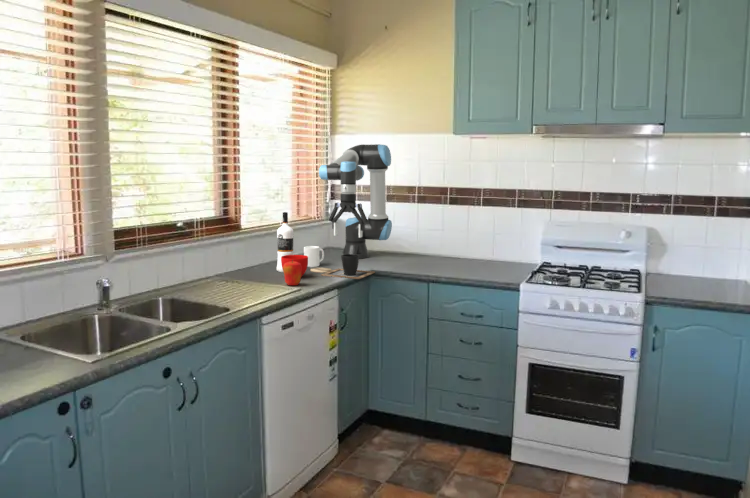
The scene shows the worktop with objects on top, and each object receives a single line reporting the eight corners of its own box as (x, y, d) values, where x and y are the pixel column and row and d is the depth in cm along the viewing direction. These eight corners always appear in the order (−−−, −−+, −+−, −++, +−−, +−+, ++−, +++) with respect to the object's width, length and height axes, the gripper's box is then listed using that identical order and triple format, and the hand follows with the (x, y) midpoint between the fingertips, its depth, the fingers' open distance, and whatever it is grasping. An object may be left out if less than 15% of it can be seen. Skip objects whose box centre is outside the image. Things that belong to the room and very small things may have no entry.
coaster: (317, 268, 327) (316, 266, 327) (335, 269, 322) (335, 268, 322) (306, 271, 317) (306, 270, 317) (325, 273, 312) (325, 272, 312)
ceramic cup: (313, 273, 311) (313, 254, 310) (304, 280, 295) (303, 259, 293) (288, 272, 313) (288, 253, 312) (277, 279, 297) (277, 258, 295)
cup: (301, 265, 334) (300, 246, 333) (319, 263, 342) (319, 244, 340) (309, 267, 328) (309, 248, 326) (328, 265, 335) (328, 246, 334)
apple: (280, 284, 285) (279, 258, 283) (296, 282, 290) (296, 257, 288) (288, 287, 278) (288, 261, 276) (305, 285, 283) (305, 259, 281)
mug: (350, 271, 318) (350, 252, 317) (361, 275, 308) (361, 255, 307) (335, 272, 314) (335, 253, 313) (346, 276, 304) (346, 257, 303)
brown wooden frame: (338, 269, 324) (338, 268, 324) (375, 272, 316) (375, 271, 316) (320, 275, 307) (320, 274, 307) (359, 279, 299) (359, 278, 298)
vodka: (298, 271, 318) (298, 212, 314) (284, 273, 311) (284, 213, 307) (286, 268, 324) (286, 211, 320) (272, 271, 317) (271, 212, 313)
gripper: (322, 192, 307) (322, 235, 310) (368, 194, 297) (367, 238, 300) (329, 192, 314) (329, 234, 317) (374, 193, 304) (374, 237, 307)
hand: (348, 236), depth 309 cm, fingers open, 13 cm apart
